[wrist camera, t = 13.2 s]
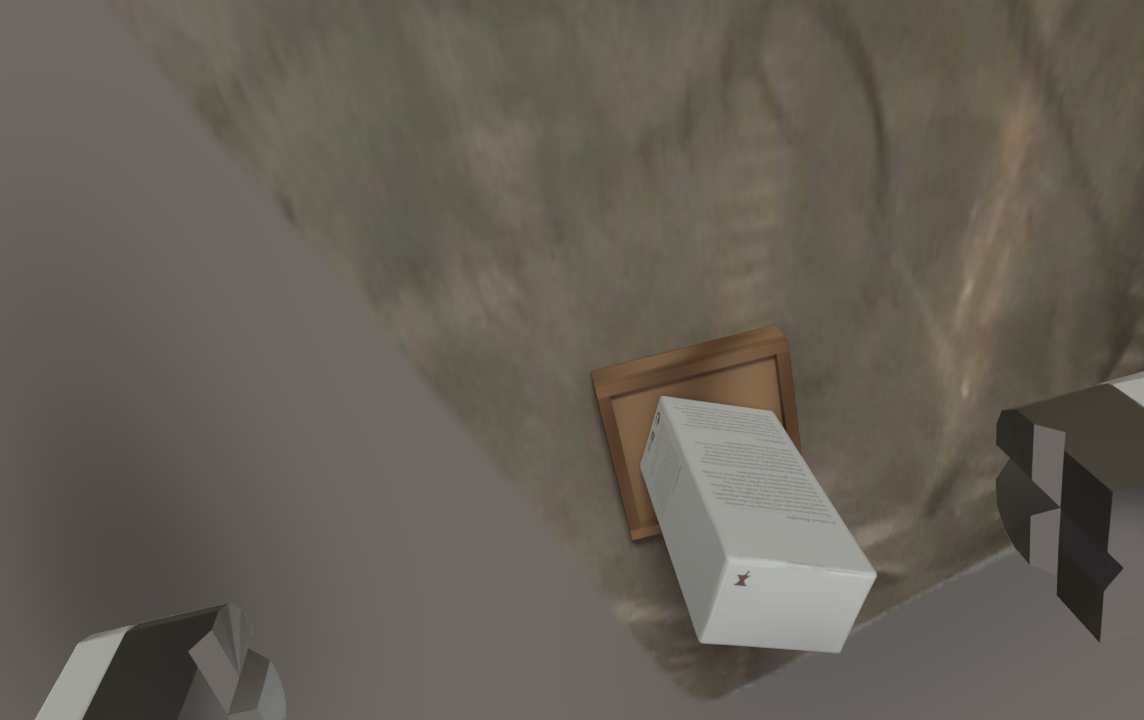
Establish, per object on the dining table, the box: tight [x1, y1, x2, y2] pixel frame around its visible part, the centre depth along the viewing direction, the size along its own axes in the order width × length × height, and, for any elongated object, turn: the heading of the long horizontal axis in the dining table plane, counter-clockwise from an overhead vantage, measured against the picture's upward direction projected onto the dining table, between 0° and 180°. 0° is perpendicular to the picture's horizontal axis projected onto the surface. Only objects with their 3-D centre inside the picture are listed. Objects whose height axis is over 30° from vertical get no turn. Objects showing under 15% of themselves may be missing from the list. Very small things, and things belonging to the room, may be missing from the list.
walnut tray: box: [591, 325, 802, 540], centre depth 42 cm, size 9×9×2 cm
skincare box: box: [640, 396, 877, 653], centre depth 37 cm, size 6×4×12 cm
